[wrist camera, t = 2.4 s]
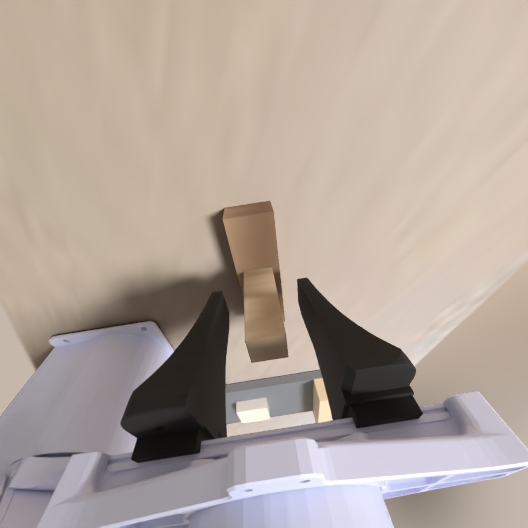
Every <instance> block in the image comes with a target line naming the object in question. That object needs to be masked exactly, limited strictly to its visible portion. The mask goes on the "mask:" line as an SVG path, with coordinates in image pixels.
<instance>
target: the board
mask: <svg viewBox="0 0 528 528" xmlns="http://www.w3.org/2000/svg"><path fill="white" fill-rule="evenodd" d="M225 395H226V424H231V423H237V422H241V420H240V419H239V417H238V415H237V413H236V402H241V401H247V400H253V399H260V398H266V399H267V403H268V406H269V411H270V417H275V416H282V415H288V414H294V413H301V412H307V411H313V413H314V417H315V422H316V423H320V422H326V421H330V418H331V410H330V406H329V402H328V398H327V394H326V390H325V386H324V382H323V378H322V374H321V371H320V370H317V371H311V372H304V373H298V374H292V375H285V376H279V377H273V378H266V379H260V380H253V381H247V382H241V383H234V384H228V385H225Z"/></svg>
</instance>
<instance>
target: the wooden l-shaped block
mask: <svg viewBox="0 0 528 528" xmlns="http://www.w3.org/2000/svg"><path fill="white" fill-rule="evenodd" d="M223 223H224V227H225V231H226V234H227V238H228V242H229V246H230V250H231V254H232V257H233V261H234V265H235V269H236V273H237V277H238V281H239V284H240V288H241V292H242V296H243V300H244V318H245V343H246V346H247V349H248V353H249V356H250V359H251V363H253V362H260V361H266V360H273V359H279V358H285V357H288V349H287V340H286V332H285V328H284V323H283V322H285V317H284V307H283V298H282V288H281V278H280V269H279V259H278V250H277V240H276V230H275V221H274V211H273V208H272V205H271V202H270V201H266V202H259V203H253V204H247V205H240V206H234V207H228V208H224V214H223Z"/></svg>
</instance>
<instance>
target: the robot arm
mask: <svg viewBox="0 0 528 528" xmlns="http://www.w3.org/2000/svg"><path fill="white" fill-rule="evenodd" d="M297 283H298V302H299V306H300V310H301V314H302V317H303V320H304V322H305V325H306V328H307V330H308V333H309V336H310V338H311V341H312V343H313V346H314V349H315V352H316V356H317V360H318V363H319V367H320V371H321V374H322V378H323V382H324V386H325V390H326V394H327V398H328V402H329V406H330V410H331V414H332V419H333V421H326V422H320V423H314V424H307V425H301V426H295V427H288V428H282V429H276V430H269V431H263V432H256V433H250V434H244V435H237V436H231V437H227V429H226V395H225V366H226V354H227V344H228V335H229V311H228V308H227V305H226V302H225V299H224V296H223V293H222V291H219V292H213V293H212V294H211V296H210V298H209V300H208V302H207V304H206V306H205V307H204V309H203V311H202V313H201V314H200V316H199V318H198V319H197V321H196V323H195V324H194V326H193V327H192V329H191V330H190V332H189V333H188V335H187V336H186V337H185V339H184V340H183V341H182V343H181V344H180V345H179V346H178V347H177V349H176V350H175V351H174V350H173V348H172V347H171V345H170V344H169V342H168V341H167V339H166V338H165V336H164V335H163V334H162V332H161V331H160V329H159V328H158V326H157V325H156V323H154V322H152V321H147V322H141V323H135V324H128V325H122V326H116V327H109V328H103V329H96V330H90V331H84V332H77V333H71V334H65V335H58V336H53V337H51V339H50V340H49V343H50V344H51V345H52V346H54V347H55V348H54V349H53V350H52V351H51V353H50V354H49V355H48V356H47V358H46V359H45V360H44V361H43V363H42V364H41V365H40V367H39V368H38V369H37V370H36V372H35V373H34V374H33V375H32V377H31V378H30V379H29V380H28V382H27V383H26V384H25V386H24V387H23V388H22V389H21V391H20V392H19V393H18V394H17V396H16V397H15V398H14V399H13V401H12V402H11V403H10V404H9V406H8V407H7V408H6V410H5V411H4V412H3V413H2V415H1V416H0V528H394V526H393V524H392V521H391V518H390V516H389V513H388V510H387V508H386V505H385V502H384V499H388V498H393V497H398V496H403V495H408V494H413V493H419V492H423V491H429V490H434V489H439V488H444V487H449V486H454V485H460V484H466V483H471V482H477V481H483V480H489V479H495V478H501V477H504V476H507V475H510V474H512V473H514V472H517V471H520V470H523V469H525V468H528V449H527V448H526V446H525V445H524V444H523V443H522V442H521V441H520V439H519V438H518V437H517V436H516V435H515V434H514V432H513V431H512V430H511V429H510V428H509V427H508V425H507V424H506V423H505V422H504V421H503V420H502V418H500V416H499V415H498V414H497V413H496V411H495V410H494V409H493V408H492V407H491V405H490V404H489V403H488V402H487V401H486V400H485V399H484V397H483V396H482V395H481V394H480V393H479V392H477V391H474V392H467V393H461V394H455V395H451V396H449V397H447V398H446V399H445V400H444V403H441V404H435V405H428V406H422V407H419V406H418V404H417V403H416V401H415V399H414V397H413V396H412V395H414V392H413V390H412V389H411V387H410V386H409V385H410V383H411V381H412V380H413V378H414V376H415V373H416V369H415V367H414V366H413V364H412V363H411V361H410V360H409V359H408V357H407V356H406V355H405V354H404V352H403V351H402V350H401V349H400V348H398V347H396V346H394V345H392V344H390V343H388V342H386V341H383V340H382V339H380V338H378V337H376V336H374V335H373V334H371V333H369V332H368V331H366V330H365V329H363V328H362V327H360V326H358V325H357V324H356V323H354V322H353V321H351V320H350V319H349V318H347V317H346V316H345V315H343V314H342V313H341V312H340V311H339V310H337V309H336V308H335V307H334V306H333V305H332V304H331V303H330V302H329V301H328V300H327V299H326V298H325V297H324V296H323V295H322V294H321V293H320V292H319V291H318V290H317V289H316V288H315V287H314V285H313V284H312V283H311V282H310V280H309V279H308V278H302V279H297Z"/></svg>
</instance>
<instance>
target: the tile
mask: <svg viewBox="0 0 528 528" xmlns="http://www.w3.org/2000/svg"><path fill="white" fill-rule="evenodd" d="M236 413H237V415H238V417H239V419H240V420H241V422H242V423H248V422H255V421H261V420H268V419H270V411H269V406H268V403H267V399H266V398H260V399H253V400H247V401H241V402H236Z"/></svg>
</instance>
